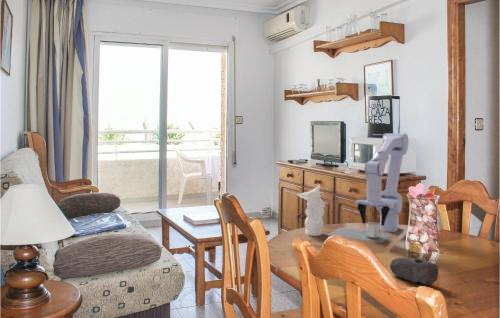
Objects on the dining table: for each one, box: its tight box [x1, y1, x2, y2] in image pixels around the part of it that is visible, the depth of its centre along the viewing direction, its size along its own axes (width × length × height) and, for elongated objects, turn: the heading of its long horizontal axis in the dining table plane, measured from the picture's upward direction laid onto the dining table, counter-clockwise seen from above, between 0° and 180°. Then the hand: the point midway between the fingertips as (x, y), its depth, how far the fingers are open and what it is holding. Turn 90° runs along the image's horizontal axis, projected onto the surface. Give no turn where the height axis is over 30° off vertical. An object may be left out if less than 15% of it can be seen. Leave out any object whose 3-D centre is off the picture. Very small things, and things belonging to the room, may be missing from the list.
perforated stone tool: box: [389, 257, 439, 286], centre depth 131 cm, size 15×5×7 cm, turn 36°
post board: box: [327, 226, 393, 243], centre depth 182 cm, size 16×23×6 cm
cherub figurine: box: [297, 183, 326, 237], centre depth 185 cm, size 12×12×22 cm
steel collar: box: [365, 221, 381, 238], centre depth 177 cm, size 5×5×5 cm
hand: (373, 223), depth 177 cm, fingers open, 7 cm apart
